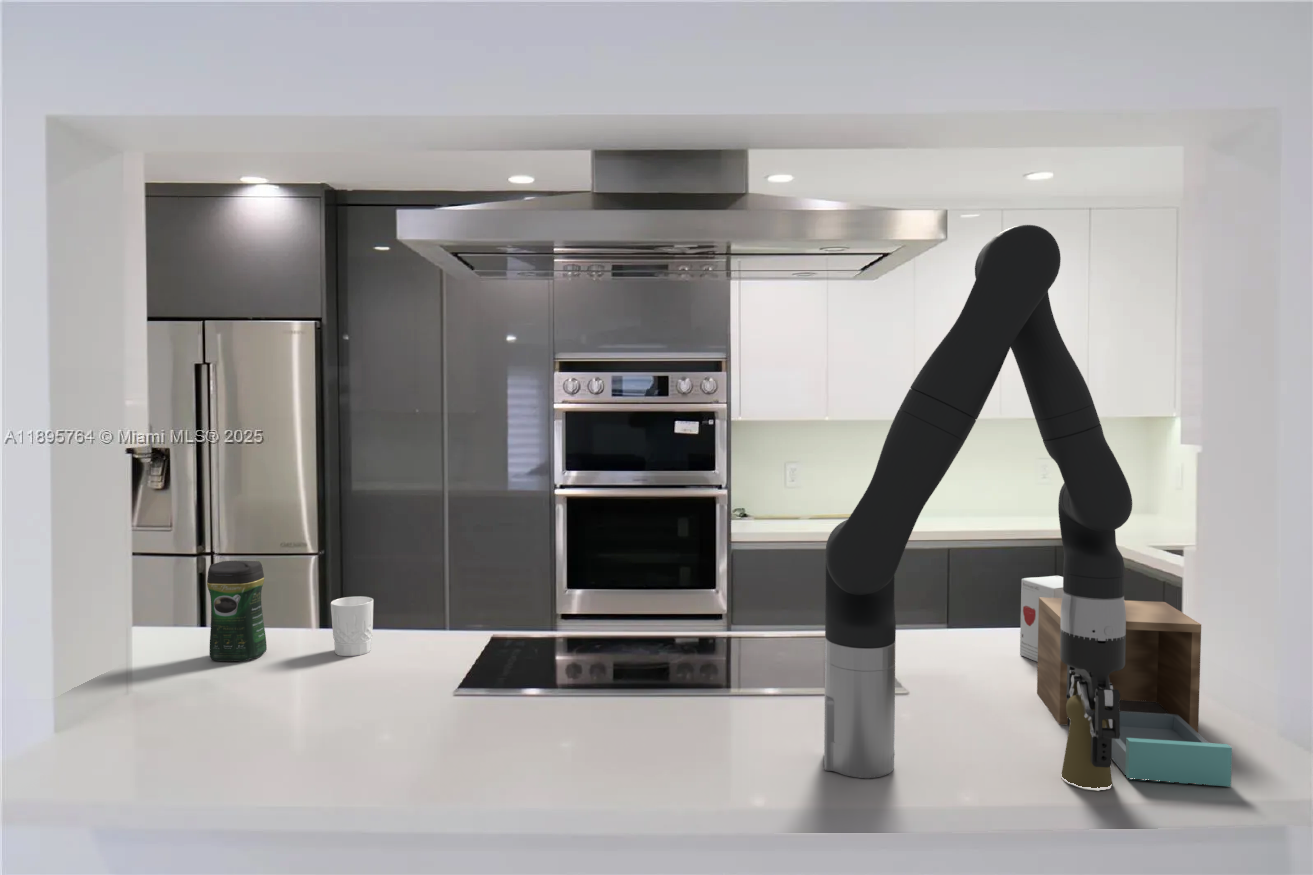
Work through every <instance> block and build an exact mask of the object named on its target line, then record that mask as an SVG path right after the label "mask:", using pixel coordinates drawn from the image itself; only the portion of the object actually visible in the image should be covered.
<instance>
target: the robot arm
mask: <svg viewBox="0 0 1313 875" xmlns="http://www.w3.org/2000/svg"><path fill="white" fill-rule="evenodd" d="M974 265H975V266H974V277H975V281H974V283H973V286H972V288H971V290H970V292H969V294H968V297H967V298H966V301H965V303H964V306H963V308H962V309H961V312H960V314H959V316H958V317H957V318H956V321H955V323H954V324H953V325H952V326H951V328H950V330H949V331H948V332H947V334H946V335H945V336H944V337H943V339H942V340H941V342H940V343H939V344H938V346H937V347H936V348H935V349H934V351H933V352H932V353H931V355H930V356H929V358H928V359H927V360H926V362H925V363H924V365H923V366H922V368H921V369H920V370H919V372H918V374H917V375H916V377H915V379H914V381H913V382H912V384H911V385H910V388H909V389H908V391H907V393H906V395H905V397H904V399H903V401H902V402H901V404H900V407H898V408H899V409H898V410H897V412H896V414H895V415H894V418H893V421H892V422H891V425H890V427H889V430H888V433H887V435H886V438H885V440H884V443H883V446H882V449H881V452H880V454H879V457H878V461H877V464H876V467H875V470H874V472H873V475H872V477H871V480H870V482H869V484H868V487H867V488H866V490H865V492H864V493H863V496H861V498H860V500H859V502H858V503H857V504H856V506H855V508H854V510H853V511H852V513H851V514H850V515H849V517H848V518H847V519H846V520H844V521H842V522H840V523H838V524H837V525H836V526H835V527H834V528H833V529H832V530H831V533H830V534H829V536H828V537H827V540H826V544H825V597H824V598H825V600H824V603H825V604H824V619H825V620H824V626H825V627H824V632H825V633H824V637H825V639H824V640H825V642H824V643H825V646H824V647H825V648H824V649H825V653H824V654H825V655H824V656H825V657H824V658H825V659H824V663H825V664H824V665H825V668H824V730H823V731H824V734H823V736H824V740H823V745H824V747H823V750H824V752H823V754H824V757H823V758H824V760H823V763H824V766H823V767H824V770H825V771H831V772H836V773H837V774H839V775H843V776H847V777H854V778H861V779H870V778H871V779H872V778H879V777H883V776H884V777H885V776H886V775H888V774H891V773H892V772H893V770H894V769H895V755H896V754H895V732H896V731H895V726H896V725H895V720H896V719H895V717H896V716H895V715H896V712H895V711H896V705H895V704H896V635H897V633H896V632H897V631H896V630H897V625H896V624H897V623H896V622H897V621H896V606H895V582H896V581H895V580H896V579H895V575H896V573H897V570H898V568H899V565H900V562H901V559H902V557H903V556H904V555H903V554H904V551H905V549H906V546H907V544H908V542H909V540H910V538H911V535H912V532H913V530H914V528H915V526H916V524H917V521H918V520H919V516H920V515H921V513H922V510H923V509H924V507H925V506H926V504H927V502H928V501H929V499H930V498H931V496H932V495H933V493H935V490H936V489H937V487H938V486H939V484H940V482H941V481H942V480H943V479H944V477H945V475H946V474H947V471H949V469H950V467H951V465H952V464H953V462H954V460H955V459H956V457H957V456H958V454H959V452H960V451H961V449H962V447H963V445H964V444H965V442H966V440H967V439H968V437H969V435H970V433H971V431H972V429H973V428H974V425H975V424H976V422H977V419H978V418H979V416H980V414H981V412H982V410H983V408H984V406H985V404H986V402H987V400H988V398H989V395H990V393H991V391H992V389H993V387H994V385H995V383H996V381H997V378H998V376H999V375H1000V372H1001V370H1002V367H1003V366H1004V363H1005V361H1006V358H1007V356H1008V354H1009V352H1010V350H1011V351H1012V354H1013V356H1014V359H1015V363H1016V365H1017V367H1018V370H1019V372H1020V376H1021V379H1022V381H1023V382H1022V383H1023V385H1024V388H1025V391H1026V395H1027V397H1028V401H1029V404H1030V407H1031V409H1032V412H1033V416H1034V419H1035V422H1036V425H1037V427H1038V430H1039V434H1040V436H1041V440H1042V442H1043V445H1044V448H1045V449H1046V451H1047V453H1048V455H1049V456H1050V458H1051V459H1053V461H1054V462H1055V463H1056V465H1057V467H1058V468H1059V472H1060V475H1061V477H1062V480H1063V482H1064V483H1063V484H1062V485H1061V488H1060V491H1059V495H1058V507H1057V508H1058V510H1057V511H1058V520H1059V521H1058V522H1059V528H1060V529H1059V530H1060V536H1061V541H1062V547H1063V548H1062V549H1063V557H1064V558H1063V572H1062V573H1063V574H1062V577H1063V597H1062V603H1061V627H1060V659H1061V660H1062V662H1063V663H1065V664H1066V665H1067V694H1066V698H1067V700H1068V699H1069V698H1070V697H1071V696H1074V695H1079V696H1080V697H1081V701H1082V707H1083V713H1084V717H1085V718H1086V719H1088V720H1089V724H1090V733H1091V763H1092V764H1093V765H1094V766H1095V767H1106V768H1108V767H1110V768H1111V766H1112V758H1111V757H1112V739H1119V738H1120V711H1121V709H1120V707H1121V706H1120V705H1121V704H1120V702H1121V700H1120V693H1119V690H1116V689H1113V685H1112V683H1110V680H1109V674H1110V673H1111V672H1114V671H1119V670H1121V669H1123V668H1124V666H1125V648H1126V609H1125V602H1124V600H1125V574H1126V573H1125V561H1124V557H1123V555H1122V553H1121V551H1120V550H1119V548H1118V546H1117V541H1116V538H1117V537H1116V530H1118V528H1121V527H1122V526H1123V525H1124V524H1125V523H1127V521H1128V520H1129V518H1130V516H1131V514H1132V510H1133V497H1132V493H1131V489H1130V486H1129V483H1128V480H1127V478H1126V476H1125V474H1124V472H1123V470H1122V468H1121V466H1120V464H1119V462H1118V460H1117V459H1116V456H1115V454H1114V452H1113V451H1112V449H1111V447H1110V446H1109V443H1108V442H1107V440H1106V437H1105V434H1104V431H1103V427H1102V423H1101V420H1100V417H1099V415H1098V412H1097V409H1096V406H1095V404H1094V400H1093V397H1092V395H1091V392H1090V389H1089V387H1088V385H1087V383H1086V381H1085V379H1084V376H1083V374H1082V372H1081V370H1080V369H1079V367H1078V365H1077V363H1076V362H1075V359H1074V358H1073V356H1072V355H1071V352H1070V351H1069V350H1068V347H1067V346H1066V343H1065V342H1064V339H1063V338H1062V336H1061V333H1060V330H1059V328H1058V325H1057V323H1056V321H1055V320H1056V319H1055V317H1054V314H1053V310H1052V306H1051V302H1050V296H1049V295H1050V294H1049V290H1050V288H1052V286H1053V284H1054V283H1055V282H1056V279H1057V277H1058V274H1059V273H1060V272H1059V271H1060V268H1061V251H1060V247H1059V245H1058V242H1057V239H1056V238H1055V237H1054V236H1053V235H1052V233H1050V232H1049V230H1047V229H1045V228H1044V227H1042V226H1040V225H1039V226H1038V225H1035V224H1020V225H1015V226H1013V227H1008V228H1006V229H1004V230H1002V231H1001V232H999V233H997V234H996V235H995V236H993V237H992V238H991V239H990V240H989V241H988V242H987V243H986V244H985V245H984V246H983V247H982V249H981V250H980V252H979V253H978V256H977V258H976V260H975V264H974ZM1106 707H1107V708H1106ZM1092 709H1095V710H1092ZM1102 720H1105V721H1106V726H1107V728H1102Z"/></svg>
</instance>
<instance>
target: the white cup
mask: <svg viewBox="0 0 1313 875" xmlns="http://www.w3.org/2000/svg"><path fill="white" fill-rule="evenodd" d="M330 613H331V625H332V637H333V642H334V654H335V655H337V656H340V657H356V656H362V655H365V654H368V653H370V652H371V651H372V637H373V630H374V629H373V628H374V598H372V597H371V596H370V597H369V596H360V595H359V596H346V597H341V598H337V599H333V600H332V601H331V602H330Z"/></svg>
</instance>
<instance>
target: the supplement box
mask: <svg viewBox="0 0 1313 875" xmlns="http://www.w3.org/2000/svg"><path fill="white" fill-rule="evenodd" d="M1020 587H1021V590H1020V592H1021V593H1020V632H1019V633H1020V634H1019V635H1020V636H1019V637H1020V639H1019V642H1020V643H1019V655H1020V656H1022V657H1025V658H1027V659H1029V660H1032V661H1033V662H1037V663H1038V616H1039V597H1046V598H1062V597H1063V576H1060V575H1049V576H1039V577H1038V576H1037V577H1036V576H1035V577H1034V576H1033V577H1024V578H1021V586H1020Z"/></svg>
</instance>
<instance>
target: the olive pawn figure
mask: <svg viewBox="0 0 1313 875" xmlns="http://www.w3.org/2000/svg"><path fill="white" fill-rule="evenodd" d="M1106 708H1107V707H1106ZM1092 710H1095V709H1092ZM1066 712H1067V716H1068V720H1069V721H1070V722H1069V728H1068V733H1067V738H1066V739H1067V740H1066V745H1065V751H1064V757H1063V763H1062V768H1061V774H1062V777H1063V778H1064V779H1066V780H1067V781H1068V782H1070V783H1074V784H1076V785H1078V786H1082V787H1091V788H1097V787H1098V788H1100V787H1108V786H1110V785H1111V784H1112V785H1113V778H1112V769H1111V766H1110V767H1108V768H1106V767H1095V766H1094V765H1093V764H1092V763H1091V733H1090V724H1089V720H1088V719H1086V718H1085V717H1084V713H1083V707H1082V701H1081V697H1080V696H1079V695H1074V696H1071V697H1070V698H1069V699H1068V701H1067V704H1066ZM1102 728H1106V721H1105V720H1102Z"/></svg>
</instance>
